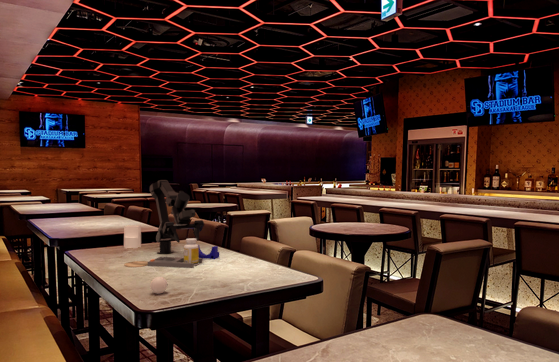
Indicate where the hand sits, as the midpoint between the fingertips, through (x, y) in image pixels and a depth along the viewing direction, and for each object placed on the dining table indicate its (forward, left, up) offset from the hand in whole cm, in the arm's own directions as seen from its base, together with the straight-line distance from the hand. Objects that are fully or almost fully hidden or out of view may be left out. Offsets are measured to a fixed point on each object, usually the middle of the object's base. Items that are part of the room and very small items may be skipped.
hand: (188, 241), depth 182 cm
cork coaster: (+6, -22, -10) cm, 25 cm away
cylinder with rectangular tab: (-35, -48, -11) cm, 60 cm away
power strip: (+2, -5, -10) cm, 12 cm away
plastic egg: (+45, +8, -11) cm, 47 cm away
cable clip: (-15, +3, -11) cm, 19 cm away
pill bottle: (+2, +2, -11) cm, 11 cm away
